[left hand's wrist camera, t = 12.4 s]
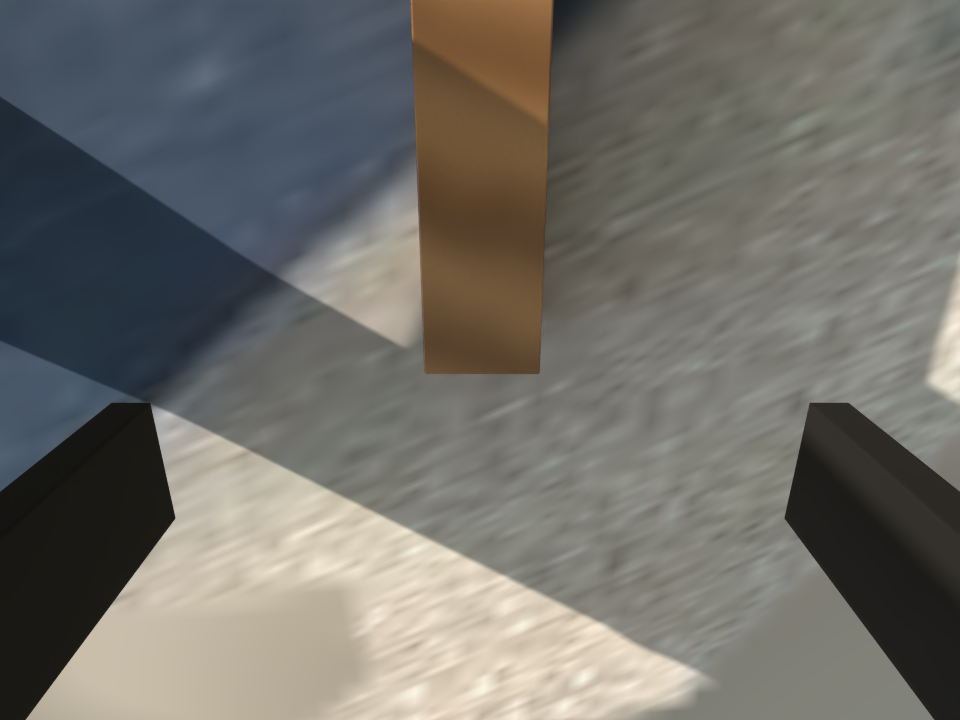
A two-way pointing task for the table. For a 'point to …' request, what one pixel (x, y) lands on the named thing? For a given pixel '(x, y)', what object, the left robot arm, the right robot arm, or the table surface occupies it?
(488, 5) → the beam
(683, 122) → the table surface
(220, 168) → the table surface
